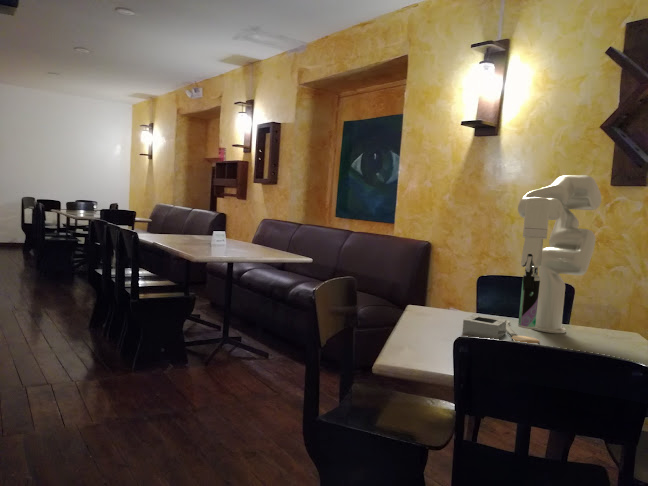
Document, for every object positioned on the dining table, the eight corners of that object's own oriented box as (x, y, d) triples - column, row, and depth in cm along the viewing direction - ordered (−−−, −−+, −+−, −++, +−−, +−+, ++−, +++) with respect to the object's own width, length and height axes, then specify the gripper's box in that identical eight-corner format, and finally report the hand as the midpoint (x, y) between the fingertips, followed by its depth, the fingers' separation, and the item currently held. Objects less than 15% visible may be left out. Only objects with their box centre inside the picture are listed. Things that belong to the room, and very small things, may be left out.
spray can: (527, 329, 168) (533, 270, 167) (514, 325, 173) (520, 268, 172) (538, 328, 171) (544, 270, 170) (525, 325, 176) (531, 268, 175)
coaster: (514, 336, 179) (514, 334, 179) (541, 341, 174) (541, 339, 174) (508, 341, 171) (508, 338, 171) (536, 346, 167) (536, 344, 167)
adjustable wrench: (518, 339, 177) (519, 335, 176) (499, 337, 178) (499, 333, 178) (508, 323, 201) (509, 319, 201) (491, 322, 202) (492, 317, 202)
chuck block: (472, 327, 189) (473, 314, 188) (505, 333, 182) (506, 320, 182) (462, 333, 179) (463, 319, 178) (496, 340, 172) (498, 325, 172)
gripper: (528, 232, 179) (523, 283, 181) (517, 233, 165) (512, 288, 166) (551, 234, 175) (546, 286, 177) (542, 235, 161) (537, 291, 162)
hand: (530, 286), depth 171 cm, fingers closed on spray can, 5 cm apart
